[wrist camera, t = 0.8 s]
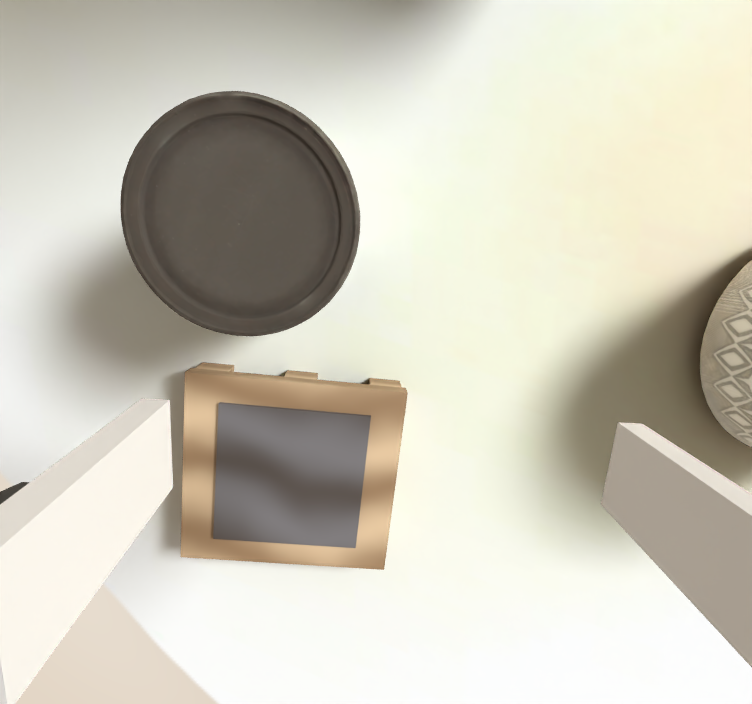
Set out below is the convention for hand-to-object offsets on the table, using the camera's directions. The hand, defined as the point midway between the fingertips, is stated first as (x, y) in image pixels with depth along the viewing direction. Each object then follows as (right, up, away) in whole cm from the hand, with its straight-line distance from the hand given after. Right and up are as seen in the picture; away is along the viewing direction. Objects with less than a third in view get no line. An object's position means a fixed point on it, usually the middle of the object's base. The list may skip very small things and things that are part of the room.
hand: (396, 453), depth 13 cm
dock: (-7, -6, +24) cm, 26 cm away
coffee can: (-7, +12, +20) cm, 25 cm away
